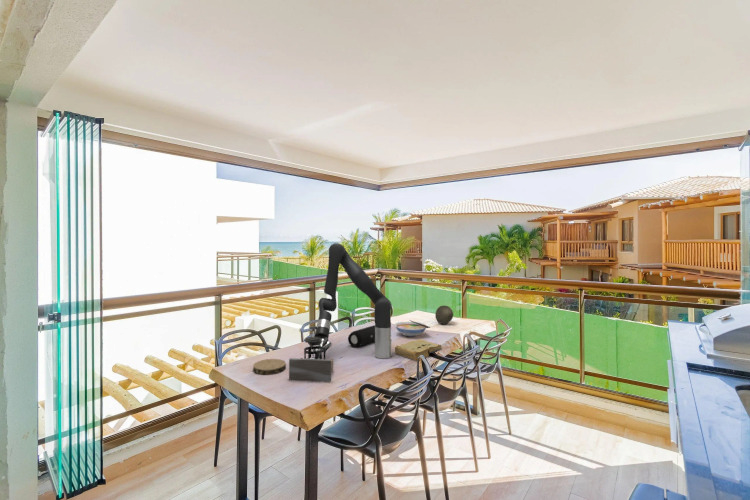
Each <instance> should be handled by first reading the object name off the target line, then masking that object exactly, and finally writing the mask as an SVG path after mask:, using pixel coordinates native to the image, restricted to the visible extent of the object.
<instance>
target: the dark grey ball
mask: <svg viewBox="0 0 750 500" xmlns="http://www.w3.org/2000/svg"><path fill="white" fill-rule="evenodd" d="M453 317H454V311H453V309H452V308H451V307H450V306H448V305H440V306H438V308H437V309H436V311H435V317H434V318H435V320H436V321H437V323H438V324H440V325H446V324H448V323H450V322H451V321H452V320H453Z"/></svg>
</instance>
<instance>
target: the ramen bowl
mask: <svg viewBox="0 0 750 500" xmlns="http://www.w3.org/2000/svg"><path fill="white" fill-rule="evenodd" d="M394 326H395V328H396V330H397V332H399V333H400V334H402V335H403V336H406V337H409V338H413V337H417V336H419V335H421V334H423V333H424V332H425V331H426V329H430V328H431V326H428V325H427V324H426V323H422V322H418V321H413V320H410V319H409V321H399V322H396V323H395V324H394Z"/></svg>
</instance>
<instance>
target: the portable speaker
mask: <svg viewBox="0 0 750 500" xmlns="http://www.w3.org/2000/svg"><path fill="white" fill-rule="evenodd" d="M347 341H348V343H349V345H350V346H351V347H353V348H354V347H355V348H359V347H362V346H364V345H367V344H370V343H373V342H375V324H374V325H370V326H367V327H364V328H360V329H357V330H353V331H351V332H350V333H349V335H348V338H347Z"/></svg>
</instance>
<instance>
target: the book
mask: <svg viewBox="0 0 750 500" xmlns="http://www.w3.org/2000/svg"><path fill="white" fill-rule="evenodd" d="M442 350H443V347H442V344H438V343H434V342H431V341H428V340H424V339H421V338H420V339H416V340H409V342H406V343H404V344H401V345H395V346H394V356H397V357H401V358H403V359H407V360H409V361H412V362H419V361H418V357H419V356H420V355H424V356H425V357H426V358H425V359H427V358H429V357H430V354H429V353H432V354H435V353H436V352H439V351H442Z"/></svg>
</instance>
